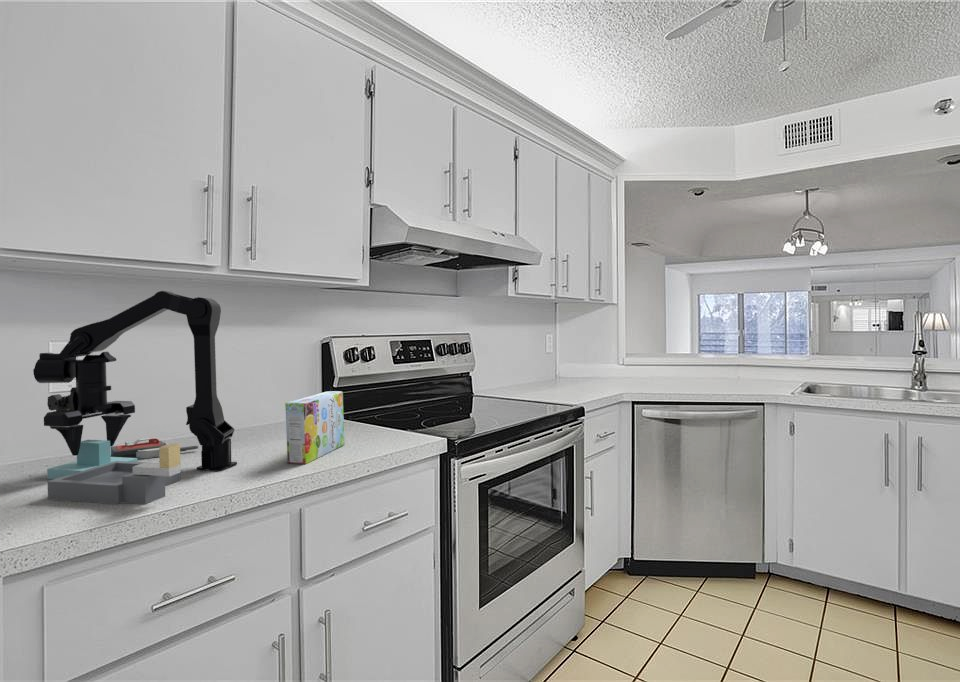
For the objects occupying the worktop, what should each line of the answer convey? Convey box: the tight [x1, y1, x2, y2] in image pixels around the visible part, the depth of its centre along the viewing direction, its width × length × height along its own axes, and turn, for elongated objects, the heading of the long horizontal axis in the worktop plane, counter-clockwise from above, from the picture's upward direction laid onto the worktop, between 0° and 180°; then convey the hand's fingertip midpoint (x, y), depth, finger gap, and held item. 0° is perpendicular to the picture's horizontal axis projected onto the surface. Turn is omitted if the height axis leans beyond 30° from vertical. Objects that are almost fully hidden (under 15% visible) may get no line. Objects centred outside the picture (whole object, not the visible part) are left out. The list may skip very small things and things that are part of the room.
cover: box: [46, 439, 139, 480], centre depth 128 cm, size 12×12×8 cm
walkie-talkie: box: [110, 436, 199, 460], centre depth 145 cm, size 9×4×20 cm
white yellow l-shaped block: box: [132, 443, 182, 477], centre depth 107 cm, size 3×8×6 cm, turn 79°
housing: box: [47, 461, 181, 505], centre depth 114 cm, size 16×21×5 cm
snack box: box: [284, 390, 346, 465], centre depth 145 cm, size 21×6×15 cm, turn 168°
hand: (93, 450), depth 128 cm, fingers open, 9 cm apart
